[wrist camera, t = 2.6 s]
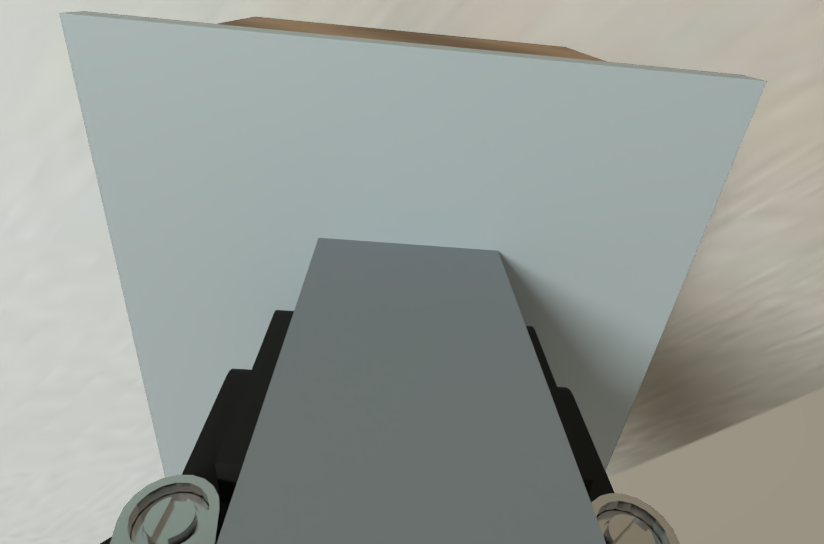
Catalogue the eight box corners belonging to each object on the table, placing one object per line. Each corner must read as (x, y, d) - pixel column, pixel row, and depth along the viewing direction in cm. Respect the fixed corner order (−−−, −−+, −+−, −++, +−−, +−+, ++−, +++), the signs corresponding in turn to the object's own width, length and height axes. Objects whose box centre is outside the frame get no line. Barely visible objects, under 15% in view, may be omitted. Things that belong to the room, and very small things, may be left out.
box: (565, 47, 20) (709, 98, 10) (508, 303, 25) (569, 479, 16) (254, 16, 19) (116, 42, 10) (270, 287, 25) (193, 462, 16)
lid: (714, 68, 11) (1414, 244, 3) (571, 465, 17) (704, 836, 10) (111, 9, 10) (-725, 69, 3) (191, 447, 17) (12, 836, 9)
